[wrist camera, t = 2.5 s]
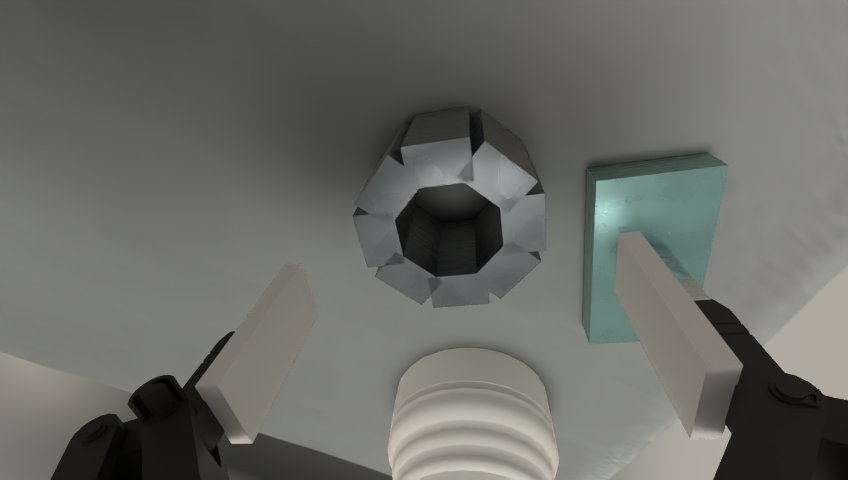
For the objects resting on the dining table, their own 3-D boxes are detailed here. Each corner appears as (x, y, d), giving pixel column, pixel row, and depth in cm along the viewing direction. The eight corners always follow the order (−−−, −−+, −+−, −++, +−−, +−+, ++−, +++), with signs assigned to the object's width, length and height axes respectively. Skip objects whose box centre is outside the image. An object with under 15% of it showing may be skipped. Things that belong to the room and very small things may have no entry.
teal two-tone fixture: (586, 167, 23) (647, 250, 15) (708, 152, 22) (839, 232, 14) (582, 324, 29) (624, 440, 21) (677, 317, 28) (758, 437, 20)
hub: (364, 122, 23) (335, 156, 18) (524, 97, 21) (543, 126, 16) (396, 253, 27) (380, 311, 22) (531, 240, 26) (547, 299, 21)
